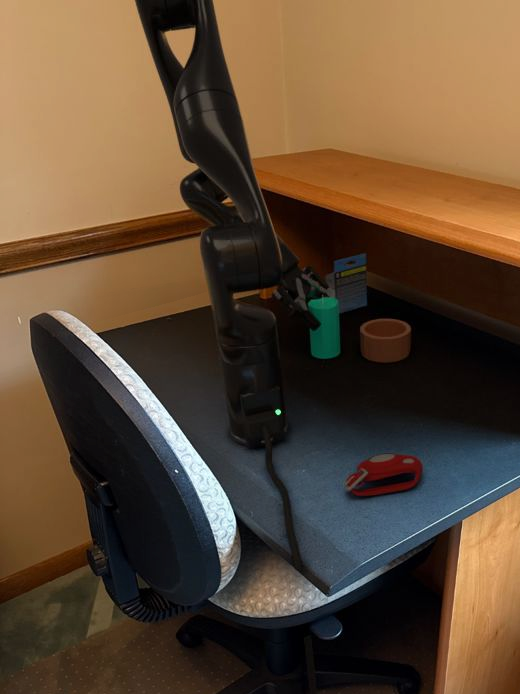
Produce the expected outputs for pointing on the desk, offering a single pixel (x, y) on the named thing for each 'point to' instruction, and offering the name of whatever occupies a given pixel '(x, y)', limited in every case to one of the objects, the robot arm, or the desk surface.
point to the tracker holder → (384, 473)
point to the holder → (385, 340)
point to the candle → (325, 328)
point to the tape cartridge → (348, 283)
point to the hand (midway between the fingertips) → (327, 319)
